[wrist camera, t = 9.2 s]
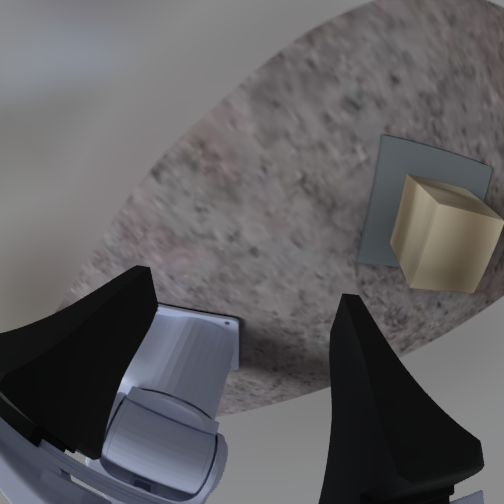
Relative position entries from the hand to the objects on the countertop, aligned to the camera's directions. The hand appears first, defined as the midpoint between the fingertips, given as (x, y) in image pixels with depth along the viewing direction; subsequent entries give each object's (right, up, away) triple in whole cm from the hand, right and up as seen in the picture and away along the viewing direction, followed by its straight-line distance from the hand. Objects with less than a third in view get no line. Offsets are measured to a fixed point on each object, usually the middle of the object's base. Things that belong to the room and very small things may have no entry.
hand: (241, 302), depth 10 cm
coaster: (+13, +5, +6) cm, 15 cm away
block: (+12, +4, +6) cm, 14 cm away
